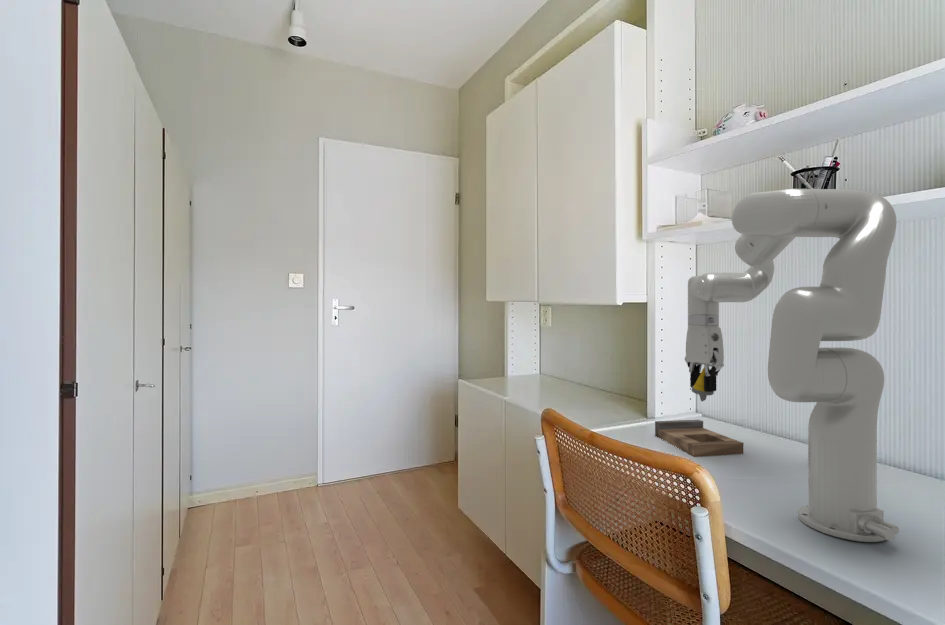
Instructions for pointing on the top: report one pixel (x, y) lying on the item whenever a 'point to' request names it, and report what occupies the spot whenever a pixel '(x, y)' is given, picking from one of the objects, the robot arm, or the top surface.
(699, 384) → the drill bit
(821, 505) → the robot arm
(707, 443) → the jig
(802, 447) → the top surface
